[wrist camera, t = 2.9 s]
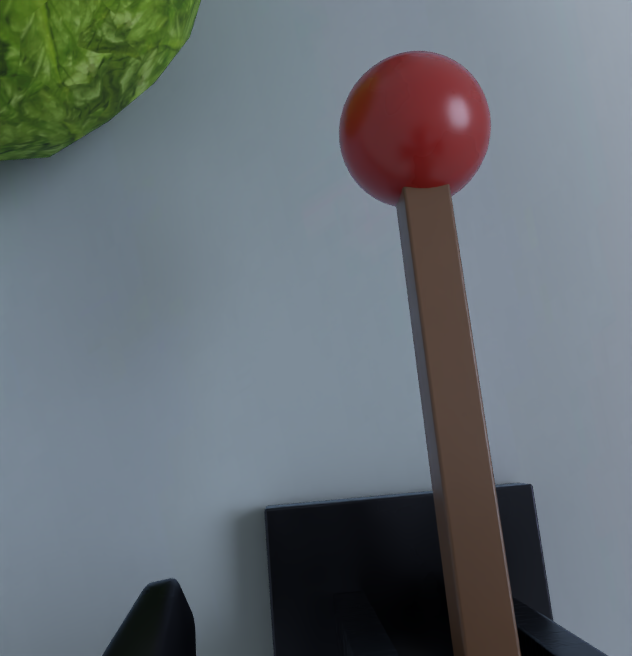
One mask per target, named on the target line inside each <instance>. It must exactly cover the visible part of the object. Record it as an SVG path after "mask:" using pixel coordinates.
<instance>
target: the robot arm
mask: <svg viewBox="0 0 632 656" xmlns="http://www.w3.org/2000/svg"><path fill="white" fill-rule="evenodd" d="M102 656H196V639H195V623H194V617H193V614H192V611H191V609H190V607H189V604H188V602H187V600H186V598H185V596H184V593H183V591H182V589H181V587H180V584H179V583H178V581H177V580H176V579H174V578H170V579H165V580H161V581H156V582H152V583H149V584H148V585H147V586H146V587H145V588H144V589H143V591H142V592H141V594H140V595H139V597H138V599H137V600H136V602H135V603H134V605H133V607H132V608H131V610H130V612H129V613H128V615H127V616H126V618H125V620H124V621H123V623H122V624H121V626H120V628H119V629H118V631H117V632H116V634H115V636H114V637H113V639H112V640H111V642H110V644H109V645H108V647H107V649H106V650H105V652H104V653H103V655H102Z"/></svg>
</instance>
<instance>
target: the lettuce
mask: <svg viewBox="0 0 632 656" xmlns="http://www.w3.org/2000/svg"><path fill="white" fill-rule="evenodd" d="M200 2H201V0H0V161H2V160H16V159H30V158H45V157H50V156H52V155H54V154H55V153H57V152H59V151H60V150H62V149H63V148H65V147H67V146H68V145H70V144H72V143H73V142H75V141H77V140H78V139H80V138H82V137H83V136H85V135H86V134H88V133H90V132H91V131H93V130H95V129H96V128H98V127H100V126H101V125H103V124H104V123H106V122H108V121H109V120H110V119H112V118H113V117H114V116H115V115H117V114H118V113H119V112H120V111H121V110H123V109H124V108H125V107H126V106H127V105H129V104H130V103H131V102H132V101H133V100H135V99H136V98H137V97H138V96H139V95H141V94H142V93H143V92H144V91H145V90H147V89H148V88H149V87H150V86H151V85H152V84H154V83H155V82H156V80H157V79H158V78H159V76H160V75H161V74H162V73H163V71H164V70H165V69H166V67H167V66H168V65H169V63H170V62H171V61H172V60H173V58H174V57H175V56H176V54H177V53H178V52H179V50H180V49H181V48H182V47H183V45H184V44H185V43H186V41H187V40H188V39H189V37H190V34H191V31H192V28H193V25H194V21H195V18H196V15H197V12H198V8H199V5H200Z"/></svg>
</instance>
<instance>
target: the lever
mask: <svg viewBox="0 0 632 656" xmlns="http://www.w3.org/2000/svg"><path fill="white" fill-rule="evenodd" d="M490 130H491V120H490V112H489V108H488V104H487V100H486V98H485V95H484V93H483V91H482V89H481V87H480V85H479V84H478V82H477V81H476V80H475V78H474V77H473V76H472V74H471V73H470V72H469V71H468V70H467V69H466V68H464V67H463V66H462V65H461V64H459V63H458V62H456V61H454V60H453V59H451V58H448V57H446V56H444V55H441V54H437V53H433V52H427V51H410V52H404V53H399V54H396V55H393V56H391V57H388V58H386V59H384V60H382V61H380V62H379V63H377V64H376V65H374V66H373V67H372V68H370V69H369V70H368V71H367V72H366V73H364V74H363V76H362V77H361V78H360V79H359V80H358V82H357V83H356V84H355V85H354V87H353V88H352V90H351V92H350V93H349V95H348V97H347V99H346V102H345V104H344V107H343V111H342V115H341V118H340V126H339V142H340V148H341V153H342V156H343V159H344V162H345V165H346V167H347V169H348V171H349V172H350V174H351V176H352V177H353V179H354V180H355V181H356V183H357V184H358V185H359V186H360V187H361V188H362V189H363V190H364V191H365V192H366V193H368V194H369V195H371V196H372V197H374V198H375V199H377V200H379V201H381V202H383V203H386V204H389V205H392V206H396V208H397V215H398V223H399V231H400V239H401V247H402V255H403V262H404V270H405V278H406V286H407V294H408V301H409V309H410V317H411V325H412V333H413V341H414V348H415V356H416V364H417V372H418V380H419V388H420V395H421V403H422V411H423V419H424V427H425V434H426V442H427V450H428V458H429V466H430V474H431V481H432V489H433V497H434V505H435V513H436V520H437V528H438V536H439V544H440V552H441V560H442V567H443V575H444V583H445V591H446V599H447V607H448V614H449V622H450V630H451V638H452V646H453V653H454V656H521V653H520V646H519V639H518V633H517V626H516V620H515V613H514V607H513V600H512V593H511V587H510V580H509V574H508V567H507V560H506V554H505V547H504V541H503V534H502V527H501V521H500V514H499V508H498V501H497V494H496V488H495V481H494V475H493V468H492V462H491V455H490V448H489V442H488V435H487V429H486V422H485V415H484V409H483V402H482V396H481V389H480V382H479V376H478V369H477V363H476V356H475V349H474V343H473V336H472V330H471V323H470V317H469V310H468V303H467V297H466V290H465V284H464V277H463V270H462V264H461V257H460V251H459V244H458V237H457V231H456V224H455V218H454V211H453V204H452V198H451V197H452V196H453V195H454V194H456V193H457V192H458V191H460V190H461V189H462V188H463V187H464V186H465V185H466V184H467V183H468V182H469V181H470V180H471V179H472V177H473V176H474V175H475V173H476V172H477V171H478V169H479V167H480V165H481V163H482V161H483V159H484V157H485V154H486V152H487V149H488V144H489V139H490Z"/></svg>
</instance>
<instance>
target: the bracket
mask: <svg viewBox="0 0 632 656" xmlns="http://www.w3.org/2000/svg"><path fill="white" fill-rule="evenodd" d="M495 488H496V494H497V501H498V508H499V514H500V521H501V527H502V534H503V541H504V547H505V554H506V560H507V567H508V574H509V580H510V587H511V593H512V600H513V607H514V613H515V620H516V626H517V633H518V639H519V646H520V653H521V656H608V655H606V654H605V653H603V652H601V651H600V650H598V649H597V648H595V647H593V646H592V645H590V644H589V643H587V642H585V641H584V640H582V639H581V638H579V637H577V636H576V635H574V634H572V633H571V632H569V631H568V630H566V629H564V628H563V627H561V626H560V625H558V624H556V623H555V622H553V616H552V610H551V603H550V597H549V590H548V584H547V577H546V571H545V564H544V558H543V551H542V544H541V538H540V531H539V525H538V518H537V512H536V505H535V499H534V492H533V486H532V485H531V484H525V483H510V484H500V485H495ZM264 512H265V528H266V543H267V558H268V574H269V589H270V604H271V620H272V635H273V650H274V656H454V653H453V646H452V638H451V630H450V622H449V614H448V607H447V599H446V591H445V583H444V575H443V567H442V560H441V552H440V544H439V536H438V528H437V520H436V513H435V505H434V497H433V491H423V492H412V493H402V494H391V495H380V496H369V497H358V498H347V499H336V500H325V501H314V502H304V503H293V504H282V505H271V506H267V507H266V508H265V511H264Z"/></svg>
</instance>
